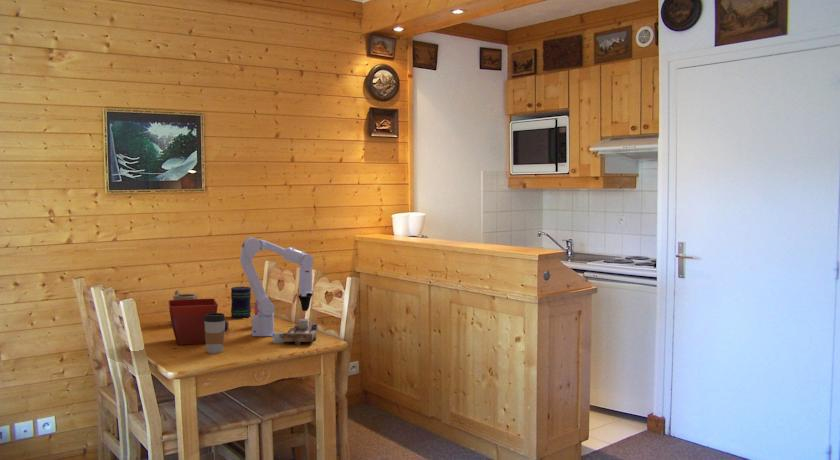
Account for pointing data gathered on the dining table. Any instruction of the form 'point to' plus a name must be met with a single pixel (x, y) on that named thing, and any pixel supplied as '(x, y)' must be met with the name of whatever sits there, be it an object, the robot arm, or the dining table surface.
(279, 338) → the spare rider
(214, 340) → the coffee cup
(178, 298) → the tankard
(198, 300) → the plant pot
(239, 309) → the storage jar
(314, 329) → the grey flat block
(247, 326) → the dining table surface
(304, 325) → the rider
